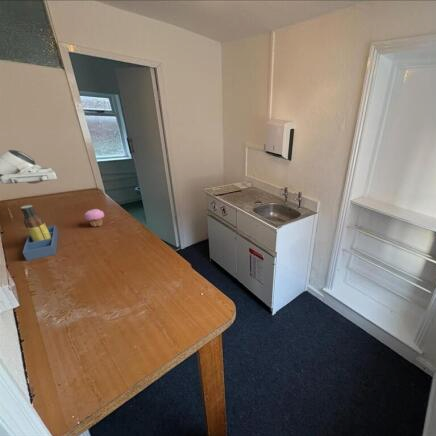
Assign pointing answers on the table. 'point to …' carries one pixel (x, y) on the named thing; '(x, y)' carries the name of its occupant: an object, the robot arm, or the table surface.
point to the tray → (41, 246)
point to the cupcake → (94, 217)
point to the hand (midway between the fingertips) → (28, 180)
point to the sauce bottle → (35, 224)
